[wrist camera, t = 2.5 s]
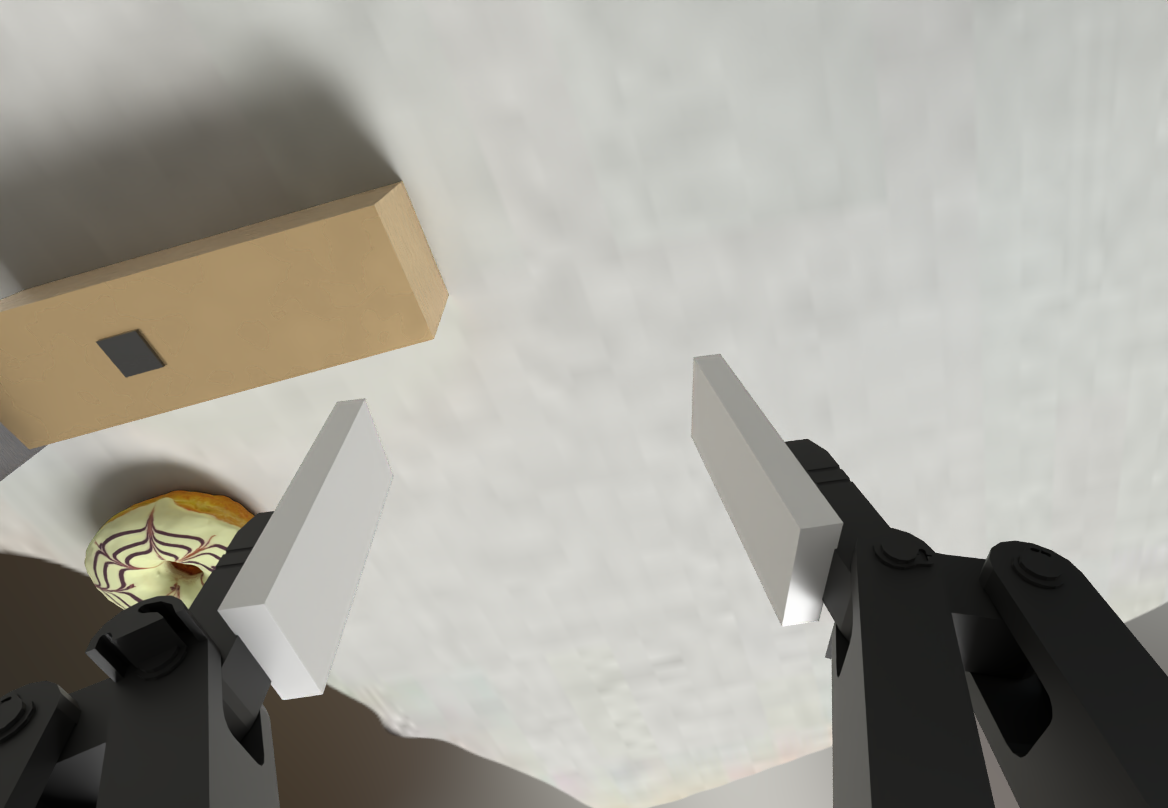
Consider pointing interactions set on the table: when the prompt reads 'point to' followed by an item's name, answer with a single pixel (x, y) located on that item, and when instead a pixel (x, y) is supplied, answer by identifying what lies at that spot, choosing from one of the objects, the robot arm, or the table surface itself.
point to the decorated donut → (163, 546)
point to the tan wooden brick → (217, 317)
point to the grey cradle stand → (13, 452)
